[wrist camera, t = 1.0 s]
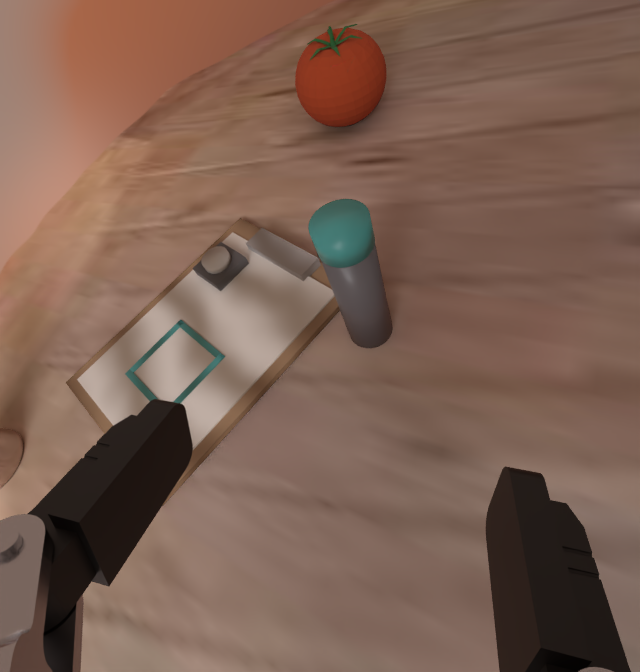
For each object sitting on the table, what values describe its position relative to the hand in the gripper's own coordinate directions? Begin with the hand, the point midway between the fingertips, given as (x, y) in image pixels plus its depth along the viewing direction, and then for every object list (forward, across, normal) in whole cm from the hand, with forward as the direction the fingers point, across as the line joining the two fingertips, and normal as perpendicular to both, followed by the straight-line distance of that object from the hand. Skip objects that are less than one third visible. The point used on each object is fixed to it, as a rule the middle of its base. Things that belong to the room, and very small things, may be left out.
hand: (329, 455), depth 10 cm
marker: (+23, +1, +10) cm, 25 cm away
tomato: (+49, +9, -4) cm, 50 cm away
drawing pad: (+22, +16, +13) cm, 30 cm away
